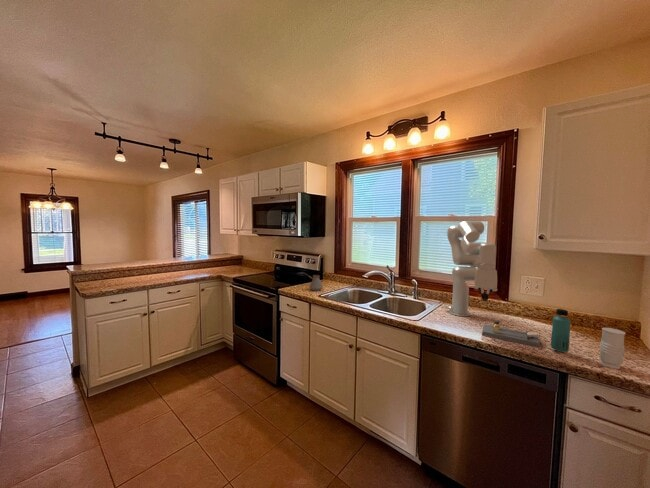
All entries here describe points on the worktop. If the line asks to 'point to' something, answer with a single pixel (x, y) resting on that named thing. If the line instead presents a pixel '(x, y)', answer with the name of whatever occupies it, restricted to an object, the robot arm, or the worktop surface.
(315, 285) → the gray watering can
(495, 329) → the brass slider
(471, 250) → the robot arm
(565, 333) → the beverage bottle
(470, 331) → the worktop surface
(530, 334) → the block
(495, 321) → the dark gray slider
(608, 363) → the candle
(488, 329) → the panel
